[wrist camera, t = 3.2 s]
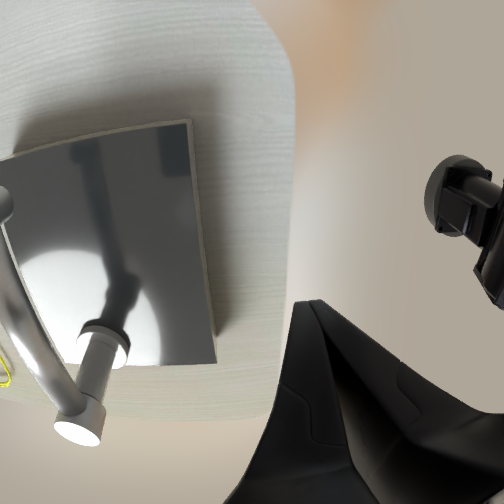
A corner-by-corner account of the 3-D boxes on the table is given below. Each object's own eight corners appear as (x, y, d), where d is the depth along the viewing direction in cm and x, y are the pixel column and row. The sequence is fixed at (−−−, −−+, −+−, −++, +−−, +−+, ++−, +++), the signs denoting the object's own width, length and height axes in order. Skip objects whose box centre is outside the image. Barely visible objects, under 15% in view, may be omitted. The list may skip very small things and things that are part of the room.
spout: (115, 408, 19) (107, 448, 16) (78, 404, 19) (67, 442, 16) (18, 177, 11) (-27, 206, 8) (-24, 189, 11) (-67, 218, 8)
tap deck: (191, 118, 18) (169, 139, 10) (216, 337, 27) (218, 423, 19) (11, 154, 17) (-67, 196, 10) (74, 340, 26) (46, 413, 18)
